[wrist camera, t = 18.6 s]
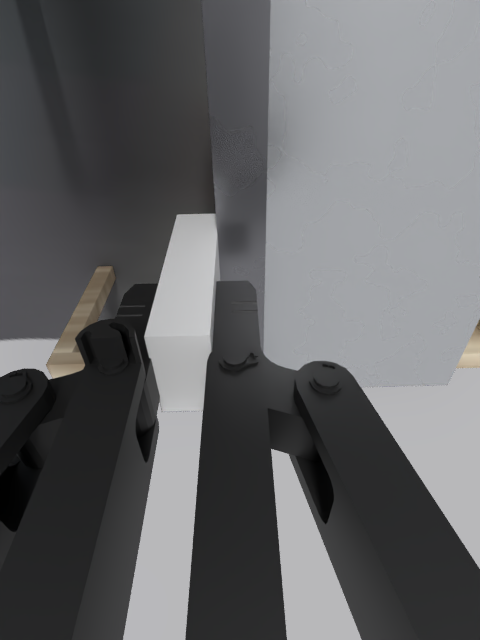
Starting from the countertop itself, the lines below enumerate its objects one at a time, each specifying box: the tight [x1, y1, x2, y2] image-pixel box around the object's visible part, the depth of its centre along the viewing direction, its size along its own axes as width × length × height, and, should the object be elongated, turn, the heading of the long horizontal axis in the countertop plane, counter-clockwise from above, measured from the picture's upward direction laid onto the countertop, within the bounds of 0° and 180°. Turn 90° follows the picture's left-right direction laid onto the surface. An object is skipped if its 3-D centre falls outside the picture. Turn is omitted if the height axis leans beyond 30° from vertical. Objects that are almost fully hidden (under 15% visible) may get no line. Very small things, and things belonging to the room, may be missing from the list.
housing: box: [46, 266, 480, 379], centre depth 20 cm, size 20×28×13 cm
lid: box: [201, 0, 480, 387], centre depth 15 cm, size 20×12×4 cm, turn 1°
